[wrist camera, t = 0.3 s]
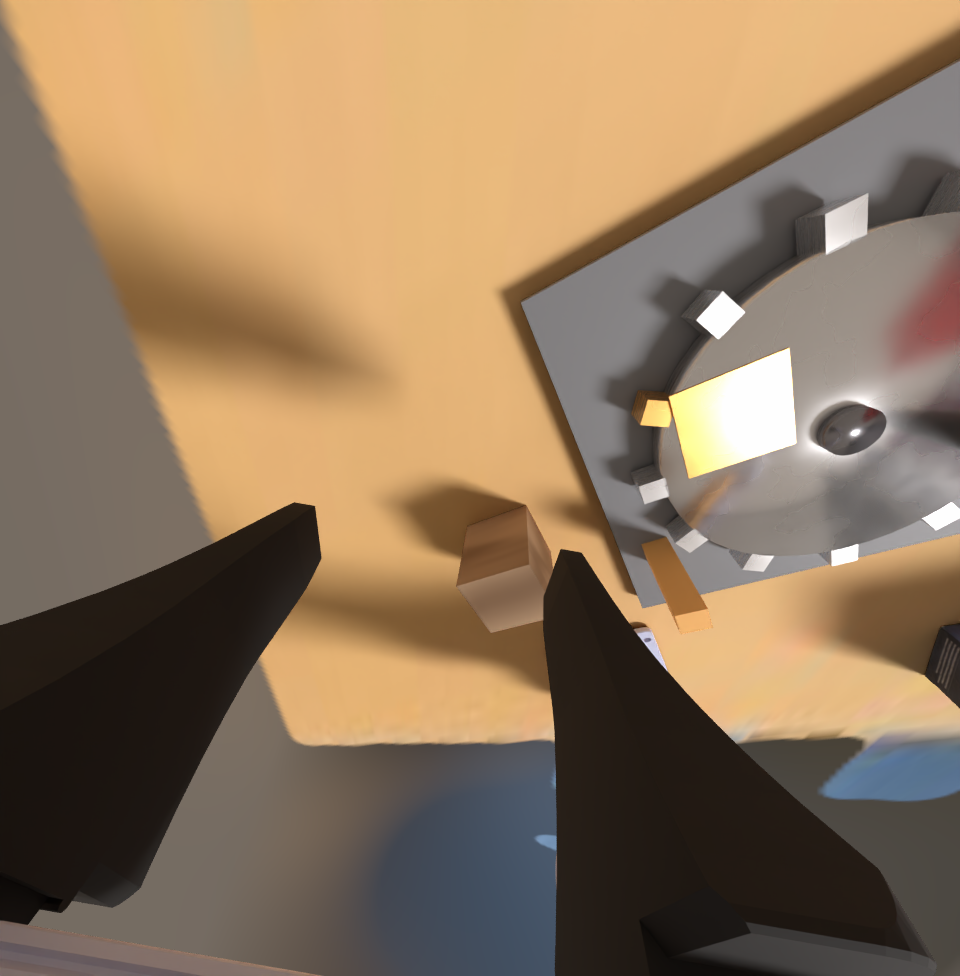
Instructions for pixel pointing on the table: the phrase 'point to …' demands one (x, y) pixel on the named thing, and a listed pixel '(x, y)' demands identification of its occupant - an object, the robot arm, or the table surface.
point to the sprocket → (819, 393)
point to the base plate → (732, 268)
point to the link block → (505, 570)
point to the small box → (946, 662)
